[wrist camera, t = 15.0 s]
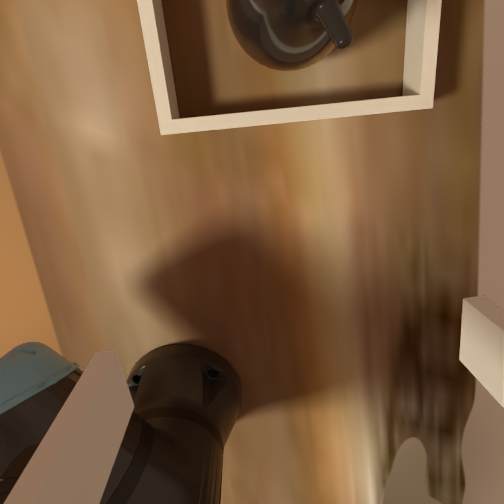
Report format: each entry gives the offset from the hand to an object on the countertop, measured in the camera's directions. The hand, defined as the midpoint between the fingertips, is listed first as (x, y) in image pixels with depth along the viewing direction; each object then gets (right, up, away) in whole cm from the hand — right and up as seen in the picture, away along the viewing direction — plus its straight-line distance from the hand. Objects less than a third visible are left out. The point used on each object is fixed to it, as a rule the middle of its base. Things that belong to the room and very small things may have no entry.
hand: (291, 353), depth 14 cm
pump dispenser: (+2, +26, +19) cm, 32 cm away
